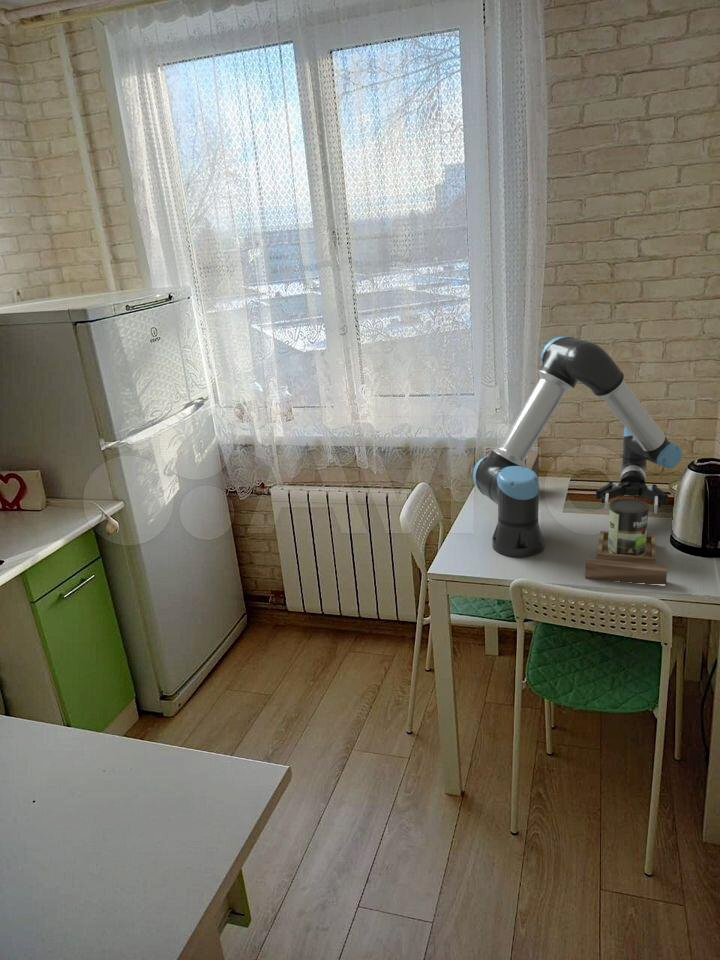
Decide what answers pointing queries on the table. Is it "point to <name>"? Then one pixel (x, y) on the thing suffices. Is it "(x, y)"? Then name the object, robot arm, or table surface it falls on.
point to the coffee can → (628, 527)
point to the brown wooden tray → (645, 559)
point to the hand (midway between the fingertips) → (630, 507)
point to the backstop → (625, 571)
